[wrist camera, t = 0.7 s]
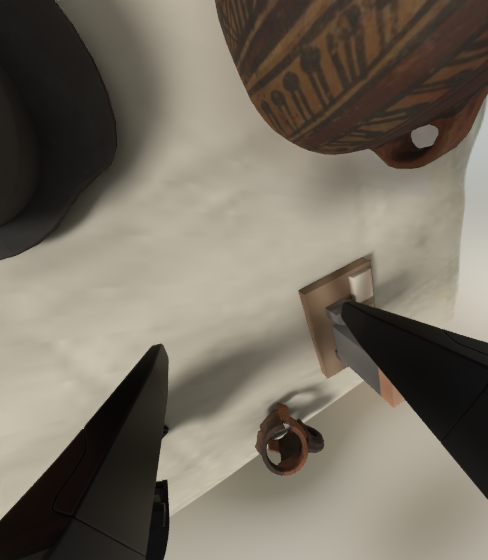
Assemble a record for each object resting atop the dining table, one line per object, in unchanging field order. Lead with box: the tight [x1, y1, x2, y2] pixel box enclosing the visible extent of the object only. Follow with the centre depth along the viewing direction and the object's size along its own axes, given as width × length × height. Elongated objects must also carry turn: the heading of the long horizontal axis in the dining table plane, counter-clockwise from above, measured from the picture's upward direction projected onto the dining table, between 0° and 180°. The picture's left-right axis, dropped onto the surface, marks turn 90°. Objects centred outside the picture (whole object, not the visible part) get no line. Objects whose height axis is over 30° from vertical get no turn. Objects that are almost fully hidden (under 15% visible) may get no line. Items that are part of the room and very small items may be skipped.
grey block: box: [332, 322, 405, 407], centre depth 25 cm, size 4×7×10 cm, turn 22°
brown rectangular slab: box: [299, 258, 375, 378], centre depth 29 cm, size 11×18×4 cm, turn 22°
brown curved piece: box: [255, 404, 324, 475], centre depth 33 cm, size 12×10×8 cm
